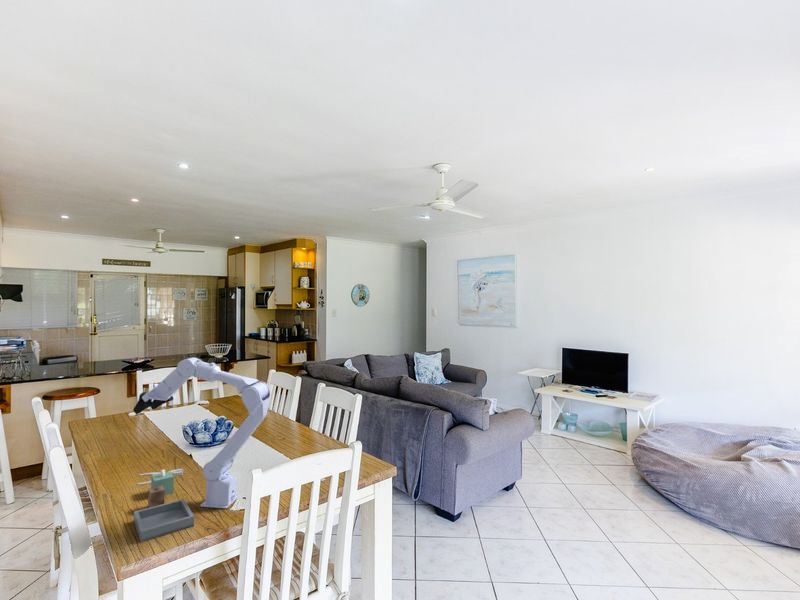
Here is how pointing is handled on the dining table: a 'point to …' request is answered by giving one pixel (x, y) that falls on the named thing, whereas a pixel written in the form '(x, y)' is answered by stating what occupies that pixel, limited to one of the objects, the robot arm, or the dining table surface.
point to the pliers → (174, 472)
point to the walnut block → (156, 496)
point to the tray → (163, 519)
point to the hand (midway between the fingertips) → (143, 409)
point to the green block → (163, 481)
